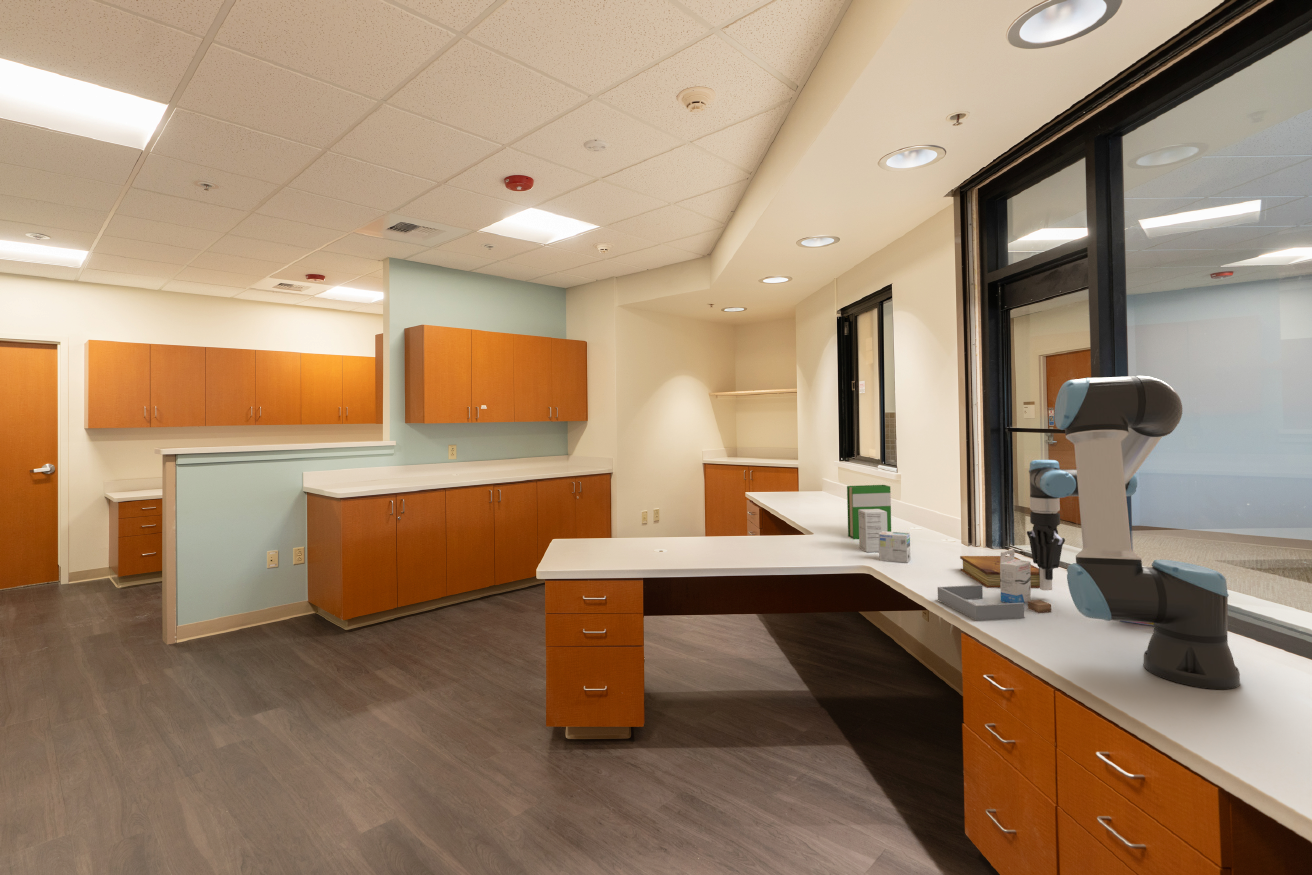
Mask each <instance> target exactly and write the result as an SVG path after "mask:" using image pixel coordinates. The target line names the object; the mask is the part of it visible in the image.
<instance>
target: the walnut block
mask: <svg viewBox="0 0 1312 875" xmlns="http://www.w3.org/2000/svg"><path fill="white" fill-rule="evenodd" d="M1027 610H1030V611H1032V612H1035V613H1037V614H1045V613H1046V614H1047V613H1048V614H1049V613H1052V603H1049V602H1047V601H1044V600H1041V599H1036V600H1035V599H1034V600H1029V601H1027Z"/></svg>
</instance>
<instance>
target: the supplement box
mask: <svg viewBox="0 0 1312 875" xmlns="http://www.w3.org/2000/svg"><path fill="white" fill-rule="evenodd" d="M858 513H859V539H858V540H859V541H858V542H859V544H858V545H859V546H858V548H859V549H860V550H862V551H864V552H865V553H879V533H880V532H882V531H887V512H886V511H883V510H880V509H860V510H858Z"/></svg>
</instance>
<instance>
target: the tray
mask: <svg viewBox="0 0 1312 875" xmlns="http://www.w3.org/2000/svg"><path fill="white" fill-rule="evenodd" d="M983 592H984V591H983V585H982V584H973V585H972V584H971V585H969V584H968V585H949V586H937V601H938V600H939V602H940V601H941V602H940V603H942V602H943V604H944V603H945V605H946V606H947V607H949V608H952V609H953V608H954V610H955V609H956V610H955V611H957V610H958V612H959V613H961V614H963V615H965V616H967V617H969V618H970V619H972V620H974V621H980V622H981V621H991V620H992V621H993V620H994V621H995V620H1008V619H1010V620H1012V619H1024V618H1025V602H1024V603H1006V602H1004V603H995V604H994V603H990V604H988V603H987V604H975V603H973V602H972V601H969V600H978V599H979V600H980V599H983V598H984V597H983Z"/></svg>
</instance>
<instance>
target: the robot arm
mask: <svg viewBox="0 0 1312 875" xmlns="http://www.w3.org/2000/svg"><path fill="white" fill-rule="evenodd" d="M1176 391H1177V390H1175V389H1174V388H1173V387H1172V386H1171V385H1169V384H1168V383H1167V382H1165V381H1163V380H1161V379H1158V378H1155V377H1152V376H1147V375H1146V376H1145V375H1133V376H1112V377H1109V376H1108V377H1107V376H1105V377H1085V378H1084V377H1083V378H1079V379H1077V378H1076V379H1075V378H1074V379H1070V380H1069V379H1068V380H1067V381H1065V382H1064V383H1062V385H1061V387H1060V389H1059V391H1058V394H1057V396H1056V400H1055V403H1054V404H1055V406H1054V414H1053V415H1054V423H1055V427H1056V428H1057V429H1058V430H1061V431H1063V430H1064V432H1065V433H1064V434H1065V439H1066V440H1068V441H1069V442H1071V443H1072V444H1073V445H1074V455H1075V457H1074V458H1075V467H1076V469H1073V468H1071V469H1068V468H1067V469H1061V468H1060V462H1059V461H1057V460H1055V459H1033V460H1031V461H1029V470H1028V473H1029V510H1031V511H1030V512H1029V514H1030V515H1029V517H1030V518H1029V522H1030V524H1032V525H1033V526H1032V530H1027V531H1026V534H1027V537H1028V541H1029V545H1030V551H1031V556H1032V562H1033V564H1036V566H1037V568H1039V577H1040V588H1039V589H1040V590H1041V591H1053V578H1054V577H1053V576H1054V570H1055V569H1059V566H1060V563H1061V562H1060V561H1061V555H1062V550H1063V545H1064V544H1065V542H1066V539H1065V538H1064V537H1061V536H1060V535H1059V531H1058V528H1057V527H1059V526H1060V525H1061V514H1060V511H1061V509H1060V507H1061V504H1060V500H1061V498H1063V499H1064V498H1067V497H1078V504H1079V505H1078V506H1079V514H1080V515H1079V516H1080V527H1081V540H1082V549H1081V550H1080V551H1079V552H1078V553H1077V554H1076V555H1075V563H1071V564H1069V565H1068V566H1067V568H1066V572H1067V574H1066V581H1067V586H1068V591H1069V593H1070V597H1071V599H1072V601H1073V604H1074V605H1075V607H1076V609H1077V611H1078V612H1079V613H1080V614H1081V615H1083V616H1085V617H1086V618H1089V619H1095V620H1104V621H1106V622H1110V621H1115V622H1118V621H1119V622H1121V621H1132V622H1147V623H1154V626H1153V632H1152V635H1151V638H1150V639H1149V642H1148V645H1147V648H1146V651H1144V653H1143V667H1144V669H1146V670H1147V671H1148V672H1149V673H1151V674H1154V675H1155V676H1157V677H1159V678H1162V679H1165V680H1166V681H1167V680H1168V681H1170V682H1174V683H1178V684H1182V685H1185V686H1190V687H1194V688H1195V687H1196V688H1200V689H1201V688H1202V689H1203V688H1204V689H1211V690H1212V689H1213V690H1227V689H1228V690H1230V689H1235V688H1238V687H1239V686H1240V685H1241V681H1240V680H1241V674H1240V670H1239V668H1238V666H1236V665H1235V662H1234V661H1235V660H1234V657H1233V654H1232V652H1231V650H1230V647H1229V644H1228V625H1229V624H1228V605H1229V604H1228V603H1229V602H1228V601H1229V600H1228V598H1229V596H1230V595H1229V593H1228V585H1227V579H1226V577H1225V576H1224V574H1222V573H1221V572H1219V571H1218V570H1216V569H1212V568H1209V567H1206V566H1202V565H1198V564H1193V563H1189V562H1184V561H1178V560H1172V559H1170V560H1169V559H1154V560H1153V561H1152V563H1151V566H1152V567H1148V566H1146V567H1145V566H1143V562H1142V557H1140V556H1139V555H1138V554H1136V553H1135V552H1134V551H1133V549H1132V540H1131V532H1130V524H1129V523H1130V521H1129V510H1128V503H1127V501H1128V500H1127V497H1132V496H1133V495H1135V493H1136V492H1137V488H1138V479H1137V476H1136V473H1137V472H1138V470H1139V469H1140V467H1141V466H1142V465H1143V464H1144V462H1145V461H1146V460H1147V458H1148V457H1149V455H1150V454H1151V452H1152V451H1153V450H1154V448H1155V447H1156V446H1157V445H1158V443H1159V442H1160V440H1161V439H1162V438H1163V437H1166V436H1169V435H1170V434H1171V433H1173V432H1174V431H1175V429H1176V428H1177V426H1178V425H1179V424H1180V422H1181V419H1182V416H1183V404H1182V400H1181V398H1180V396H1179V395H1178V393H1177V392H1176Z"/></svg>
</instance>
